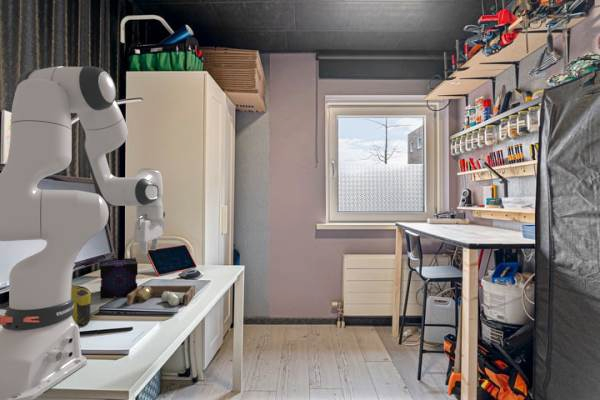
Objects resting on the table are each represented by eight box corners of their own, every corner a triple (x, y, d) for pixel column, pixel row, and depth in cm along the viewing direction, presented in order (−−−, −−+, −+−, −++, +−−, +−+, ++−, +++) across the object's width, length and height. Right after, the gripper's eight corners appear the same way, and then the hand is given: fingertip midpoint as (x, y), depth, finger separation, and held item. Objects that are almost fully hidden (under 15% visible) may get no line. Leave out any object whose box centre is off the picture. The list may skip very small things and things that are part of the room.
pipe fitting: (177, 309, 118) (187, 301, 125) (177, 298, 118) (187, 291, 124) (156, 307, 120) (167, 299, 126) (155, 296, 119) (167, 289, 126)
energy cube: (100, 299, 125) (100, 266, 125) (101, 291, 135) (101, 260, 135) (137, 295, 131) (137, 263, 130) (135, 287, 141) (135, 257, 141)
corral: (187, 305, 120) (187, 294, 120) (127, 305, 119) (127, 295, 119) (195, 294, 132) (195, 285, 132) (140, 295, 131) (140, 285, 131)
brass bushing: (153, 296, 129) (148, 300, 124) (142, 298, 128) (137, 302, 123) (151, 285, 128) (146, 289, 123) (140, 287, 128) (135, 291, 123)
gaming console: (95, 324, 102) (95, 290, 102) (79, 328, 99) (79, 293, 99) (55, 307, 116) (55, 277, 116) (40, 310, 113) (40, 279, 112)
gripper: (148, 215, 117) (148, 257, 117) (167, 212, 138) (166, 247, 138) (129, 215, 117) (128, 257, 117) (150, 212, 137) (150, 247, 137)
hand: (149, 252), depth 128 cm, fingers open, 8 cm apart
